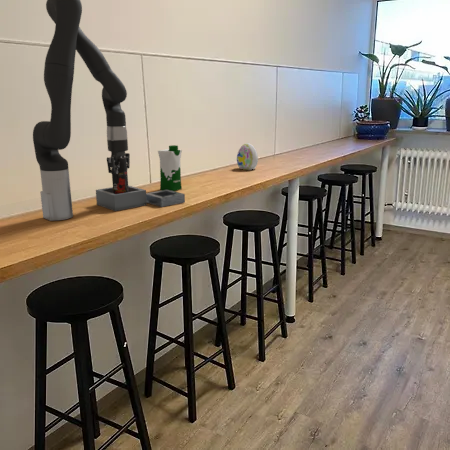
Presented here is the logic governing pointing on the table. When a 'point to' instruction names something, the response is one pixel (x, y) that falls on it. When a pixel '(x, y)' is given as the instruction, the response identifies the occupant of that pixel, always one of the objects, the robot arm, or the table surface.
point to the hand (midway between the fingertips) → (120, 181)
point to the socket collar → (165, 198)
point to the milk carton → (170, 168)
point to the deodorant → (121, 177)
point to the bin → (121, 198)
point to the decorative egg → (247, 157)
